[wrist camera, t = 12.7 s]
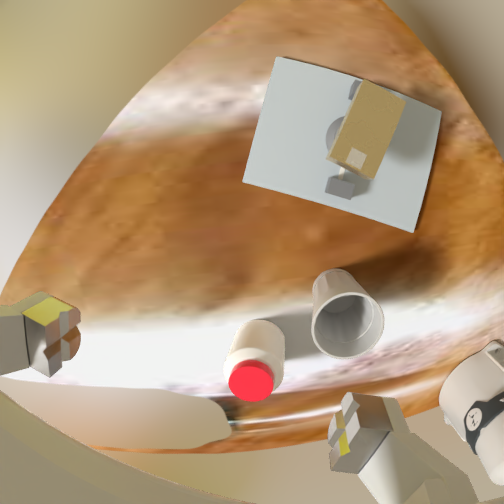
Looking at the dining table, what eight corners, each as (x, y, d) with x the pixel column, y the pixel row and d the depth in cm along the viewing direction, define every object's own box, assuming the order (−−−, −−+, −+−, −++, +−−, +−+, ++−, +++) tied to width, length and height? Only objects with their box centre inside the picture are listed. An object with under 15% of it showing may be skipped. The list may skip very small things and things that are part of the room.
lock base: (438, 113, 36) (461, 103, 29) (410, 231, 40) (430, 241, 33) (276, 59, 37) (273, 38, 30) (243, 181, 42) (234, 182, 35)
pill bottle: (296, 343, 46) (296, 386, 35) (259, 371, 48) (251, 417, 37) (259, 309, 45) (249, 346, 35) (223, 340, 47) (206, 381, 36)
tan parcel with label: (355, 90, 31) (364, 78, 26) (392, 110, 31) (406, 101, 26) (324, 159, 33) (329, 156, 28) (363, 179, 33) (374, 179, 28)
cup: (295, 294, 44) (295, 333, 33) (331, 251, 42) (346, 277, 31) (336, 326, 45) (349, 371, 33) (373, 285, 43) (398, 320, 31)
